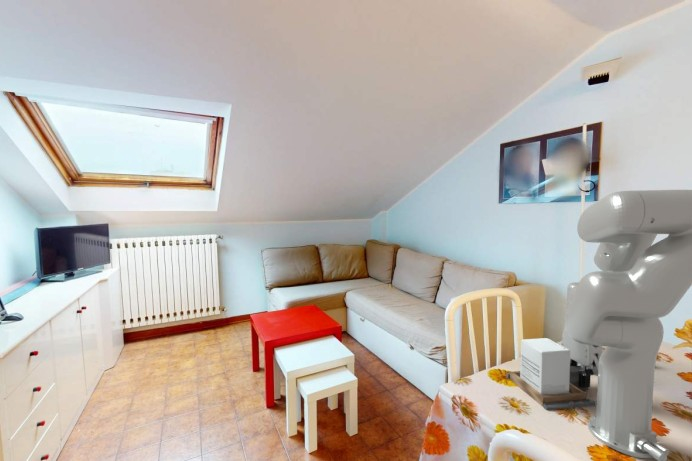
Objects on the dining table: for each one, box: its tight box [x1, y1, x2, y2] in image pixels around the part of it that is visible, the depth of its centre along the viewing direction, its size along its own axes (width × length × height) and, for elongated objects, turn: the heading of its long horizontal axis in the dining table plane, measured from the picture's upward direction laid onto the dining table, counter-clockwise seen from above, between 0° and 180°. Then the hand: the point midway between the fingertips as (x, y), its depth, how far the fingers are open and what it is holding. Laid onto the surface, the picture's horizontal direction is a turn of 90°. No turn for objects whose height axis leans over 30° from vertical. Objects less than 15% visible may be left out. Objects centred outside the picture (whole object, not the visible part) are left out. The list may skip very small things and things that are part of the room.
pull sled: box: [509, 366, 589, 407], centre depth 91 cm, size 14×20×6 cm
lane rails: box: [505, 372, 597, 411], centre depth 90 cm, size 17×15×2 cm
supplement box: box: [519, 337, 570, 396], centre depth 89 cm, size 9×9×15 cm
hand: (578, 382), depth 92 cm, fingers closed on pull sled, 3 cm apart
